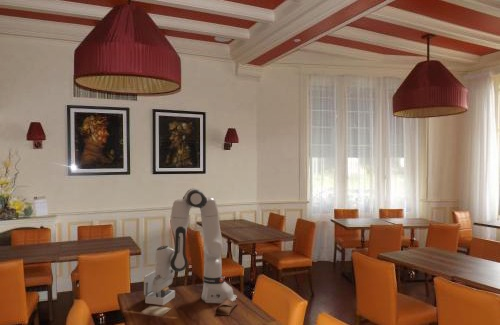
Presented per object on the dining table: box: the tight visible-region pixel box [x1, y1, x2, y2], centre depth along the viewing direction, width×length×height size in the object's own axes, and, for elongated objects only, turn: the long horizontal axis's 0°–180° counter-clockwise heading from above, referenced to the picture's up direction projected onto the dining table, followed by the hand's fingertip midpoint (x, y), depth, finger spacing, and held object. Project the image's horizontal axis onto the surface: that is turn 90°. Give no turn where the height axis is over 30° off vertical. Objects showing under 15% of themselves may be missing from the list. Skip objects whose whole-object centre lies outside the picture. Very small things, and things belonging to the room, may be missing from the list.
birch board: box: [140, 304, 172, 317], centre depth 224 cm, size 14×10×1 cm
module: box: [156, 286, 170, 298], centre depth 239 cm, size 6×5×7 cm
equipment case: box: [143, 270, 176, 306], centre depth 240 cm, size 13×15×17 cm
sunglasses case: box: [215, 298, 239, 316], centre depth 229 cm, size 18×7×7 cm, turn 166°
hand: (162, 295), depth 240 cm, fingers closed on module, 5 cm apart
